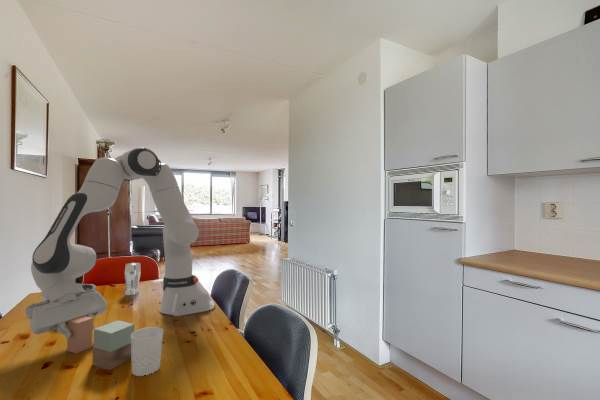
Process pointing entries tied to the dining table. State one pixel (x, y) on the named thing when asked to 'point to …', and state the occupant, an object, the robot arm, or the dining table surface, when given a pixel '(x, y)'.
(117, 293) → the dining table surface
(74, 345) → the tall block
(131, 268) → the beer glass
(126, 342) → the tower top
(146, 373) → the white cup
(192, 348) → the dining table surface
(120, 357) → the tower base
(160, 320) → the dining table surface
